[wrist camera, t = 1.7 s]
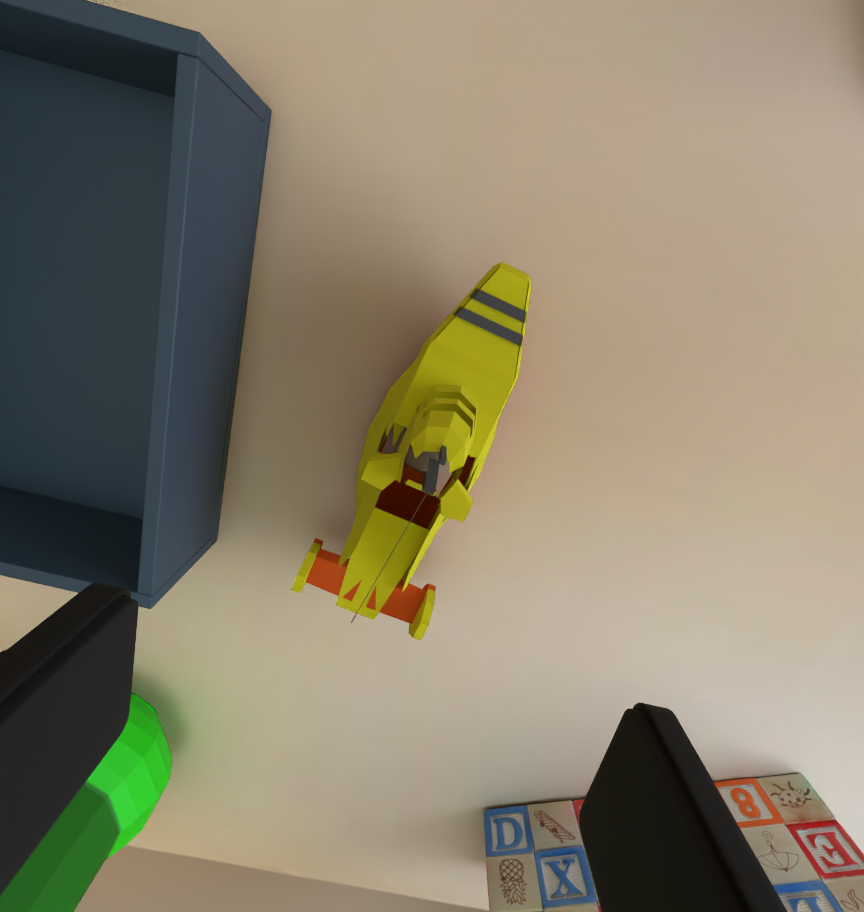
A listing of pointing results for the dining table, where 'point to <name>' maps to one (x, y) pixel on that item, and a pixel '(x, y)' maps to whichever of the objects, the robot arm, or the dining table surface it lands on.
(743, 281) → the dining table surface
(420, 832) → the dining table surface
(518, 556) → the dining table surface
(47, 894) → the plastic bottle
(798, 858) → the stack of blocks
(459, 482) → the yellow toy submarine
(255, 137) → the tote
